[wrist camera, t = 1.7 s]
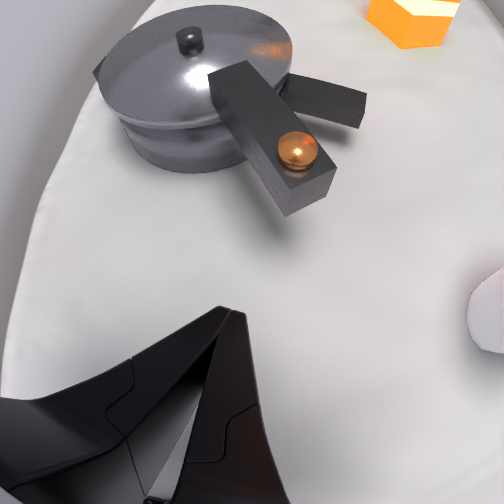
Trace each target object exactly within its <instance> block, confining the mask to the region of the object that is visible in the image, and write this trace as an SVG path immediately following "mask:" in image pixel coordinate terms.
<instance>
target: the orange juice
mask: <svg viewBox="0 0 504 504" xmlns="http://www.w3.org/2000/svg"><path fill="white" fill-rule="evenodd" d="M459 3H460V0H371V2H370V6H369V10H368V14H367V18H366V20H367V21H368V22H370V23H371V24H372V25H373V26H375V27H376V28H377V29H378V30H379V31H381V32H382V33H383V34H384V35H385V36H386V37H388V38H389V39H390V40H391V41H392V42H393V43H394V44H396V45H397V46H398V47H399V48H400V49H409V48H419V47H431V46H440V45H441V43H442V41H443V39H444V36H445V34H446V32H447V30H448V28H449V25H450V23H451V21H452V19H453V17H454V15H455V13H456V11H457V8H458V6H459Z"/></svg>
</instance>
